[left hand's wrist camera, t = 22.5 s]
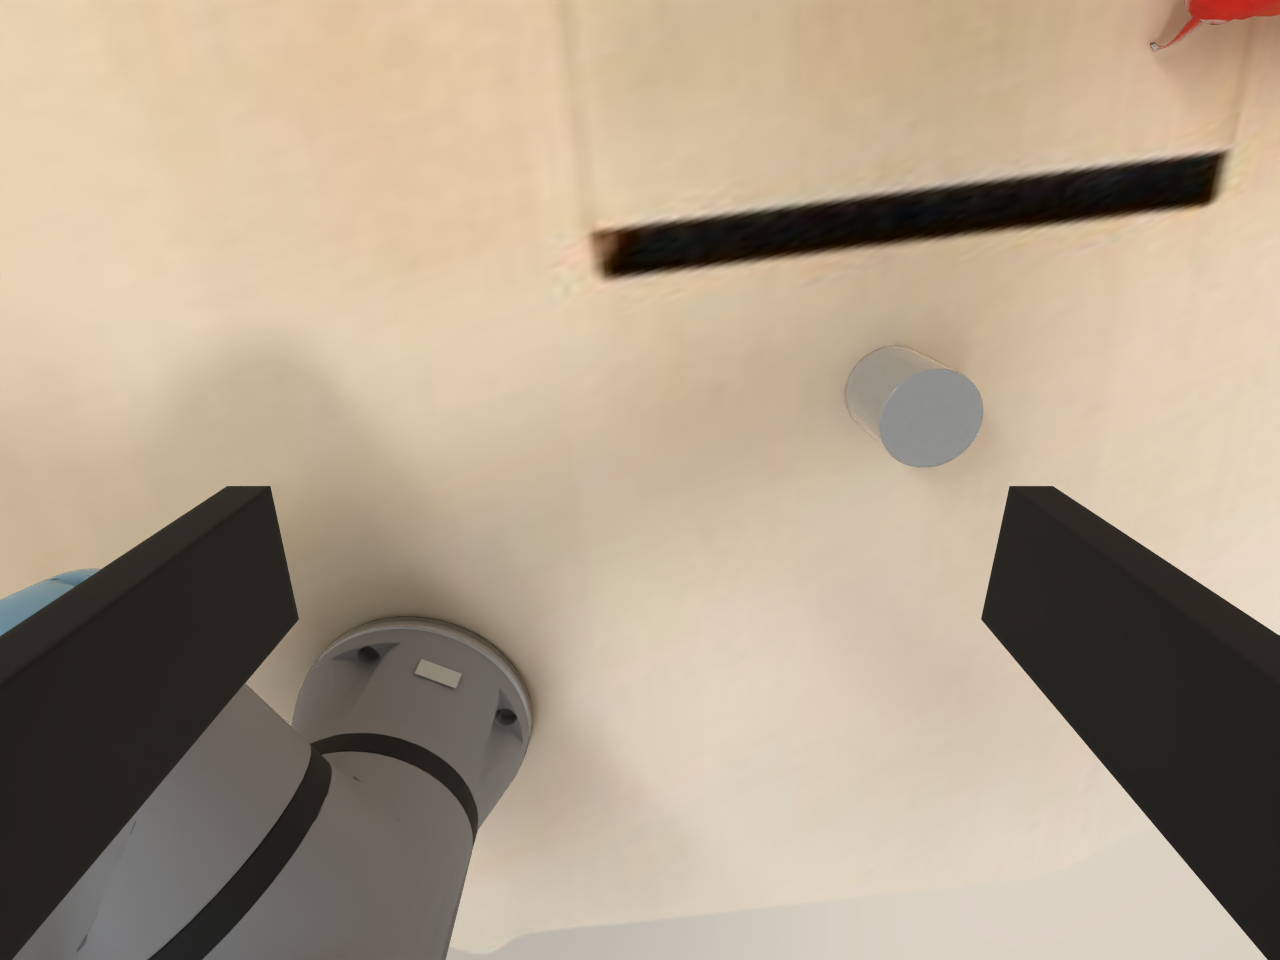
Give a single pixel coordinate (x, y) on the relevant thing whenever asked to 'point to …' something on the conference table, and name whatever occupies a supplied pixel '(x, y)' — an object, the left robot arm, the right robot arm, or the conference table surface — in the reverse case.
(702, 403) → the conference table surface
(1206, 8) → the fish
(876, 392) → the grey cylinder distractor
